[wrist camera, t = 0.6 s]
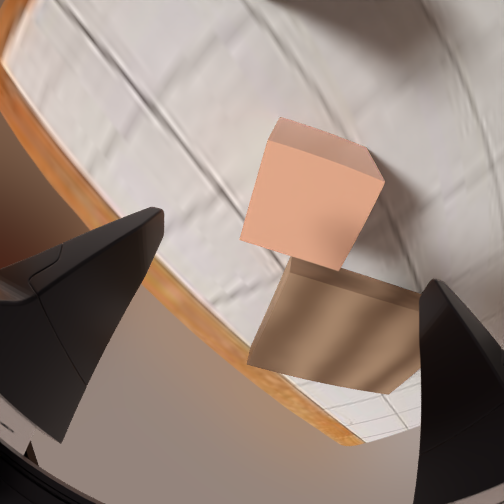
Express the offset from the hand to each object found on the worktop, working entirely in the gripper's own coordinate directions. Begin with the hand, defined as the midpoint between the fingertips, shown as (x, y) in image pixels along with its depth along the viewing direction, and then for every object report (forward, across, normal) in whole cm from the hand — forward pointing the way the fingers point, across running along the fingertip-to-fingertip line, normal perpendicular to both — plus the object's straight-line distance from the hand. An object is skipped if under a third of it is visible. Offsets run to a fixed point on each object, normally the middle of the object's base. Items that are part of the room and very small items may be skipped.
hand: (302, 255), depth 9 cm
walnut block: (+13, -9, +17) cm, 23 cm away
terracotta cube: (+12, 0, +2) cm, 12 cm away
